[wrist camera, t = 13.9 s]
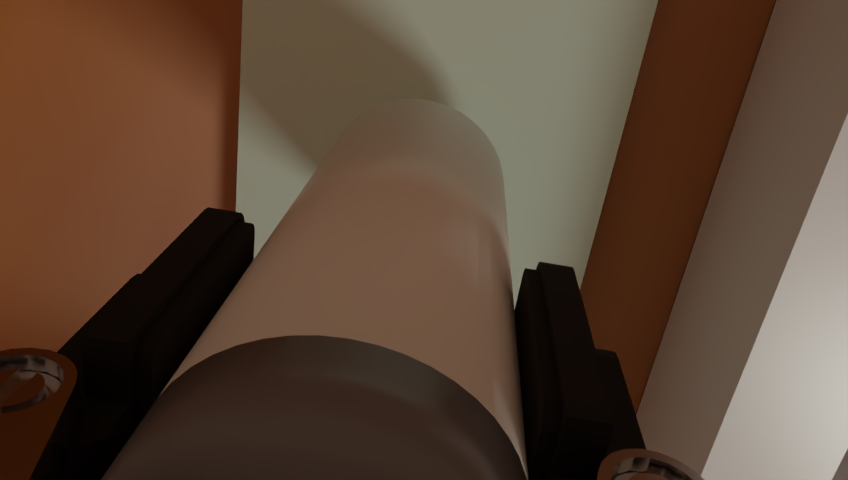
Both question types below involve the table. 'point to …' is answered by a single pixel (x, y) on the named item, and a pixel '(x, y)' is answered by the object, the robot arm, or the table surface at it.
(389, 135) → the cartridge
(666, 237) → the table surface
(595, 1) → the mat
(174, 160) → the table surface
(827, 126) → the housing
